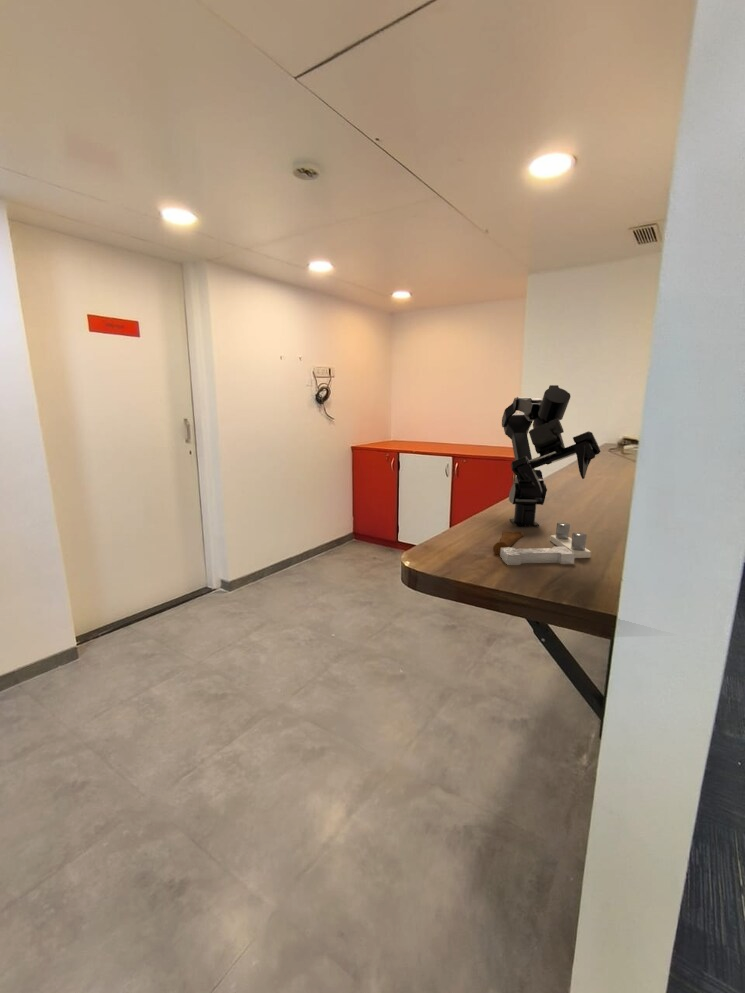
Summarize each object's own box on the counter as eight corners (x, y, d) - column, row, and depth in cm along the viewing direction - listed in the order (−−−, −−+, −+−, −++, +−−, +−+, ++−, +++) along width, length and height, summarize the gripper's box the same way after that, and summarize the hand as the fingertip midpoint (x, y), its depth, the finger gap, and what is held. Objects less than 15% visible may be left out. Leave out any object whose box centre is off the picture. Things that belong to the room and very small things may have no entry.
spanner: (499, 557, 102) (500, 547, 101) (563, 556, 103) (564, 546, 102) (507, 565, 97) (507, 555, 97) (573, 564, 98) (575, 554, 97)
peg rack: (550, 540, 113) (552, 522, 112) (565, 540, 113) (567, 521, 112) (573, 558, 101) (575, 537, 100) (590, 557, 101) (592, 536, 100)
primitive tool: (503, 532, 121) (504, 520, 120) (524, 535, 119) (525, 522, 118) (491, 556, 104) (492, 542, 103) (516, 560, 102) (517, 545, 101)
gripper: (497, 431, 107) (505, 480, 98) (576, 396, 98) (594, 447, 88) (516, 457, 114) (525, 506, 104) (592, 427, 105) (610, 477, 95)
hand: (561, 485), depth 98 cm, fingers open, 9 cm apart
